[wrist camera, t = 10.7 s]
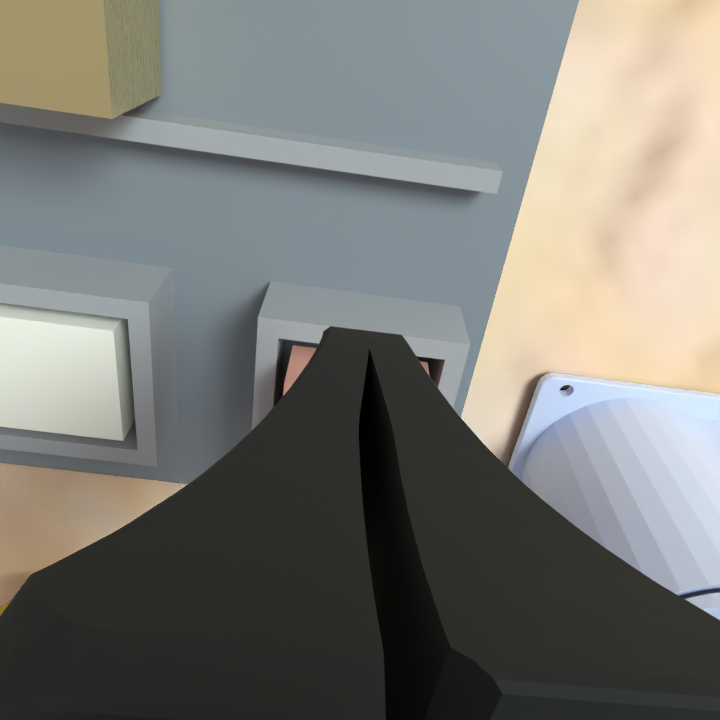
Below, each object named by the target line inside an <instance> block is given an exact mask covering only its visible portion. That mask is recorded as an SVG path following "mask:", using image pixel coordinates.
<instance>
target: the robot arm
mask: <svg viewBox="0 0 720 720" xmlns="http://www.w3.org/2000/svg"><path fill="white" fill-rule="evenodd" d="M564 385H570V387H569V388H568V389H566V390H562V391H561V390H560V388H561V387H562V386H564ZM0 720H720V394H716V393H709V392H701V391H693V390H685V389H677V388H670V387H662V386H654V385H646V384H638V383H631V382H623V381H615V380H607V379H599V378H592V377H584V376H576V375H568V374H560V373H548V374H546V375H544V376H542V377H541V378H540V380H539V381H538V383H537V386H536V389H535V392H534V395H533V398H532V400H531V403H530V406H529V409H528V412H527V415H526V417H525V420H524V423H523V426H522V429H521V431H520V434H519V437H518V440H517V443H516V446H515V448H514V451H513V454H512V457H511V460H510V462H509V465H508V468H507V467H506V466H505V465H504V464H503V463H502V462H501V461H500V460H499V459H498V458H497V457H496V456H495V455H494V454H493V453H492V452H491V451H490V450H489V449H488V448H487V447H486V446H485V445H484V444H483V443H482V442H481V441H480V440H479V438H478V437H477V436H476V435H475V434H474V433H473V432H472V430H471V429H470V428H469V427H468V426H467V425H466V423H465V422H464V421H463V420H462V419H461V418H460V416H459V415H458V414H457V413H456V412H455V410H454V409H453V408H452V406H451V405H450V404H449V402H448V401H447V400H446V398H445V397H444V396H443V394H442V393H441V392H440V390H439V389H438V387H437V386H436V385H435V383H434V382H433V380H432V379H431V378H430V376H429V375H428V373H427V372H426V370H425V369H424V367H423V366H422V364H421V363H420V361H419V360H418V358H417V357H416V355H415V353H414V352H413V350H412V349H411V347H410V346H409V344H408V343H407V341H406V340H405V338H404V337H403V336H402V335H399V334H391V333H383V332H375V331H367V330H358V329H350V328H342V327H334V326H330V327H329V328H327V329H326V330H325V331H323V335H322V338H321V340H320V343H319V345H318V347H317V349H316V350H315V352H314V354H313V355H312V357H311V359H310V360H309V362H308V364H307V365H306V366H305V368H304V369H303V371H302V372H301V373H300V375H299V376H298V378H297V379H296V380H295V382H294V383H293V385H292V386H291V387H290V389H289V390H288V391H287V392H286V393H285V395H284V396H283V397H282V398H281V399H280V400H279V402H278V403H277V404H276V405H275V406H274V407H273V408H272V410H271V411H270V412H269V413H268V414H267V415H266V416H265V418H264V419H263V420H262V421H261V422H260V423H259V424H258V425H257V426H256V427H255V428H254V429H253V430H252V431H251V432H250V433H249V434H248V435H247V436H246V437H245V438H243V439H242V440H241V441H240V442H239V443H238V444H237V445H236V446H235V447H234V448H233V449H231V450H230V451H229V452H228V453H227V454H226V455H224V456H223V457H222V458H221V459H220V460H218V461H217V462H216V463H215V464H213V465H212V466H211V467H210V468H208V469H207V470H206V471H205V472H204V473H202V474H201V475H200V476H198V477H197V478H196V479H194V480H193V481H192V482H190V483H189V484H188V485H186V486H185V487H184V488H182V489H181V490H179V491H178V492H176V493H175V494H173V495H172V496H170V497H169V498H167V499H166V500H164V501H163V502H161V503H160V504H158V505H156V506H155V507H153V508H152V509H150V510H149V511H147V512H146V513H144V514H143V515H141V516H140V517H138V518H137V519H135V520H133V521H132V522H130V523H129V524H127V525H125V526H124V527H122V528H120V529H119V530H117V531H115V532H114V533H112V534H110V535H108V536H106V537H104V538H102V539H100V540H98V541H97V542H95V543H93V544H91V545H89V546H87V547H85V548H83V549H81V550H79V551H77V552H75V553H73V554H72V555H70V556H68V557H66V558H64V559H62V560H60V561H58V562H56V563H54V564H52V565H50V566H48V567H46V568H44V569H42V570H40V571H38V572H36V573H34V574H32V575H30V577H29V578H28V579H27V581H26V582H25V583H24V585H23V586H22V587H21V589H20V590H19V591H18V593H17V594H16V595H15V597H14V598H13V599H12V601H11V602H10V603H9V605H8V606H7V607H6V609H5V610H4V611H3V613H2V614H1V616H0Z"/></svg>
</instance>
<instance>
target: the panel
mask: <svg viewBox="0 0 720 720" xmlns="http://www.w3.org/2000/svg"><path fill="white" fill-rule="evenodd" d="M578 1H579V0H159V30H160V60H161V90H162V94H161V95H159V96H157V97H155V98H153V99H151V100H149V101H147V102H145V103H143V104H141V105H139V106H137V107H135V108H133V109H131V110H129V111H127V112H125V113H123V114H121V115H119V116H117V117H115V118H113V119H108V118H101V117H95V116H88V115H81V114H74V113H67V112H61V111H54V110H47V109H40V108H33V107H26V106H20V105H13V104H6V103H0V303H6V304H14V305H22V306H29V307H37V308H45V309H53V310H61V311H68V312H76V313H84V314H92V315H100V316H107V317H115V318H123V319H128V329H129V342H130V356H131V369H132V383H133V396H134V409H135V420H134V422H133V424H132V426H131V428H130V430H129V431H128V433H127V435H126V437H125V439H124V440H123V441H119V440H111V439H102V438H94V437H85V436H76V435H68V434H59V433H51V432H42V431H34V430H25V429H17V428H8V427H0V463H9V464H18V465H27V466H36V467H44V468H53V469H62V470H71V471H80V472H88V473H97V474H106V475H115V476H124V477H132V478H141V479H150V480H159V481H168V482H176V483H185V484H189V483H190V482H192V481H193V480H194V479H196V478H197V477H198V476H200V475H201V474H202V473H204V472H205V471H206V470H207V469H208V468H210V467H211V466H212V465H213V464H215V463H216V462H217V461H218V460H220V459H221V458H222V457H223V456H224V455H226V454H227V453H228V452H229V451H230V450H231V449H233V448H234V447H235V446H236V445H237V444H238V443H239V442H240V441H241V440H242V439H243V438H245V437H246V436H247V435H248V434H249V433H250V432H251V431H252V430H253V429H254V428H255V427H256V426H257V425H258V424H259V423H260V422H261V421H262V420H263V419H264V418H265V416H266V415H267V414H268V413H269V412H270V411H271V410H272V408H273V407H274V406H275V405H276V404H277V403H278V402H279V400H280V399H281V398H282V397H283V392H284V382H285V378H286V373H287V369H288V364H289V360H290V356H291V351H292V347H293V345H296V346H303V347H311V348H317V347H318V345H319V343H320V340H321V338H322V335H323V331H325V330H326V329H327V328H329V327H330V326H334V327H342V328H350V329H358V330H367V331H375V332H383V333H391V334H399V335H402V336H403V337H404V338H405V340H406V341H407V343H408V344H409V346H410V347H411V349H412V350H413V352H414V353H415V355H416V357H417V358H418V360H419V361H421V362H428V369H429V375H430V378H431V379H432V380H433V382H434V383H435V385H436V386H437V387H438V389H439V390H440V392H441V393H442V394H443V396H444V397H445V398H446V400H447V401H448V402H449V404H450V405H451V406H452V408H453V409H454V410H455V412H456V413H457V414H458V415H459V416H460V418H461V414H462V411H463V407H464V404H465V400H466V397H467V393H468V390H469V386H470V383H471V379H472V376H473V372H474V368H475V365H476V361H477V358H478V354H479V351H480V347H481V344H482V340H483V337H484V333H485V330H486V326H487V323H488V319H489V316H490V312H491V308H492V305H493V301H494V298H495V294H496V291H497V287H498V284H499V280H500V277H501V273H502V270H503V266H504V263H505V259H506V255H507V252H508V248H509V245H510V241H511V238H512V234H513V231H514V227H515V224H516V220H517V217H518V213H519V210H520V206H521V203H522V199H523V195H524V192H525V188H526V185H527V181H528V178H529V174H530V171H531V167H532V164H533V160H534V157H535V153H536V150H537V146H538V143H539V139H540V135H541V132H542V128H543V125H544V121H545V118H546V114H547V111H548V107H549V104H550V100H551V97H552V93H553V90H554V86H555V83H556V79H557V75H558V72H559V68H560V65H561V61H562V58H563V54H564V51H565V47H566V44H567V40H568V37H569V33H570V30H571V26H572V23H573V19H574V15H575V12H576V8H577V5H578Z"/></svg>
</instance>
